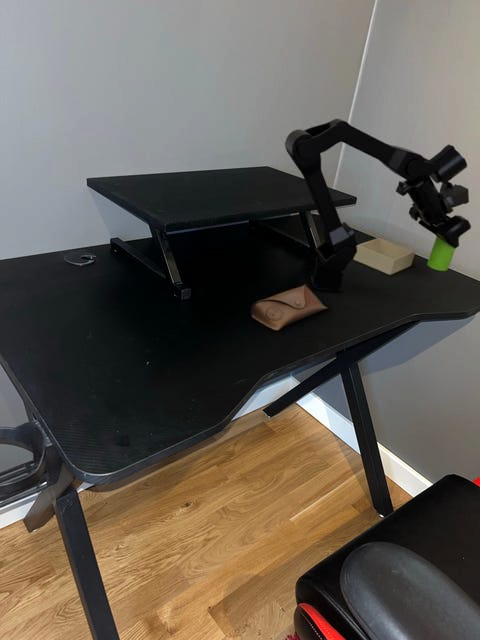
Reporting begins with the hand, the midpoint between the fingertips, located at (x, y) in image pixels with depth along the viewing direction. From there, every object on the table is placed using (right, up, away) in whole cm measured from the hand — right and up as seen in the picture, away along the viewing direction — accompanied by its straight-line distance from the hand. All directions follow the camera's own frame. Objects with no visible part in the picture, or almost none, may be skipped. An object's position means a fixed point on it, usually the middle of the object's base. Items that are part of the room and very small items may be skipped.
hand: (451, 242), depth 115 cm
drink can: (-2, -6, +3) cm, 7 cm away
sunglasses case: (-42, -18, -13) cm, 48 cm away
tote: (-11, -3, +19) cm, 22 cm away
